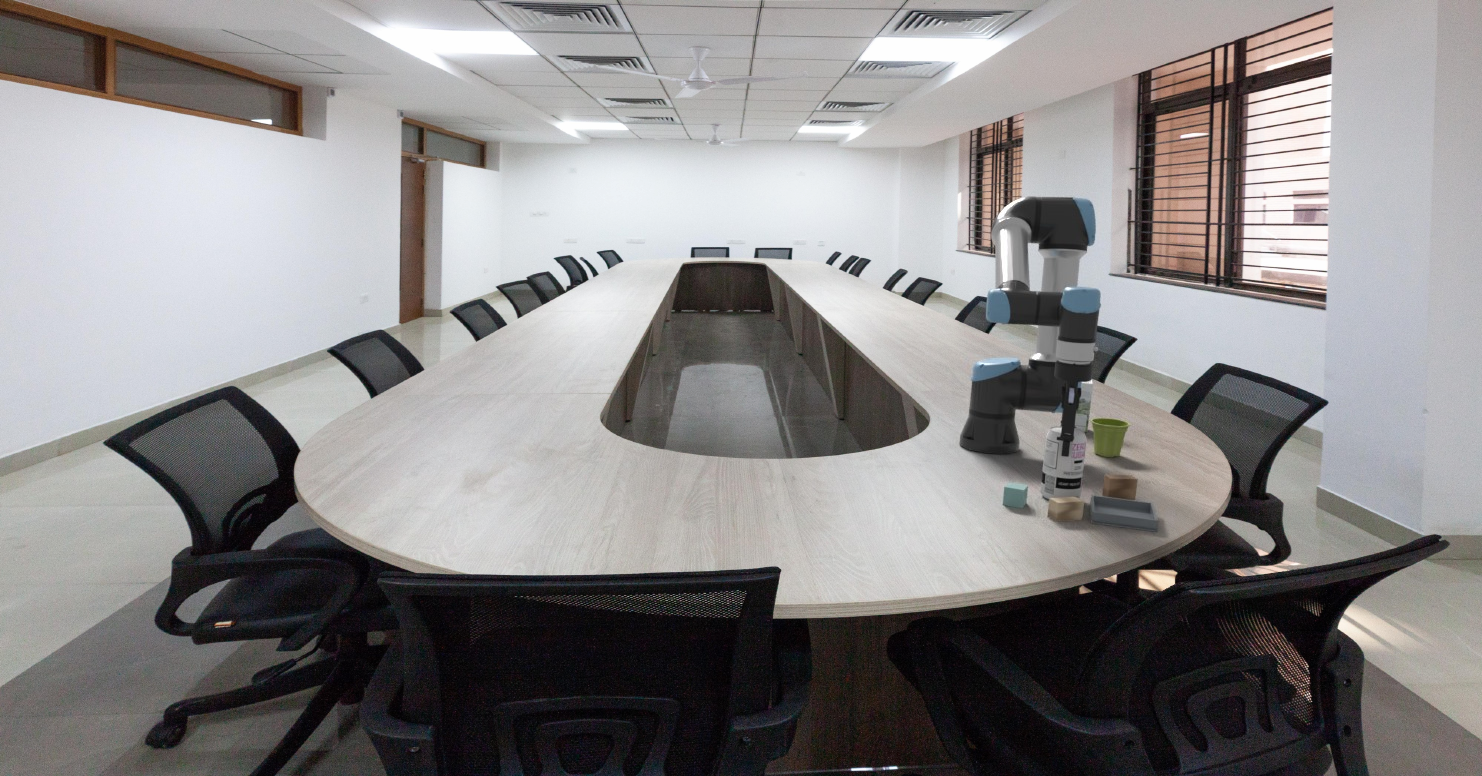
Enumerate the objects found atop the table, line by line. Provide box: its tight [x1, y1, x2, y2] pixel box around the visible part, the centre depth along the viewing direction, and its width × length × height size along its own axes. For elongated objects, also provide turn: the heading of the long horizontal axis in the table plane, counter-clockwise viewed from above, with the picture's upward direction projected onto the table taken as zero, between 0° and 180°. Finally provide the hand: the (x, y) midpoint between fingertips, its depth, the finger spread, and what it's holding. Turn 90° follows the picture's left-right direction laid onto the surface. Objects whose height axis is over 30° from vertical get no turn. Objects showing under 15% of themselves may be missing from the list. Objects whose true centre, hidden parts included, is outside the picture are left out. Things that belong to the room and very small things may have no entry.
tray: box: [1089, 494, 1159, 533], centre depth 183 cm, size 12×12×2 cm
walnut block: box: [1101, 473, 1139, 500], centre depth 196 cm, size 6×3×5 cm, turn 91°
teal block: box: [1002, 482, 1029, 509], centre depth 190 cm, size 4×4×4 cm
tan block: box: [1047, 497, 1085, 522], centre depth 182 cm, size 6×3×4 cm, turn 105°
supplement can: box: [1039, 425, 1088, 500], centre depth 194 cm, size 8×8×15 cm
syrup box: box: [1075, 379, 1094, 433], centre depth 258 cm, size 6×6×14 cm
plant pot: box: [1090, 417, 1131, 458], centre depth 232 cm, size 9×9×9 cm
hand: (1063, 464), depth 194 cm, fingers closed on supplement can, 8 cm apart
